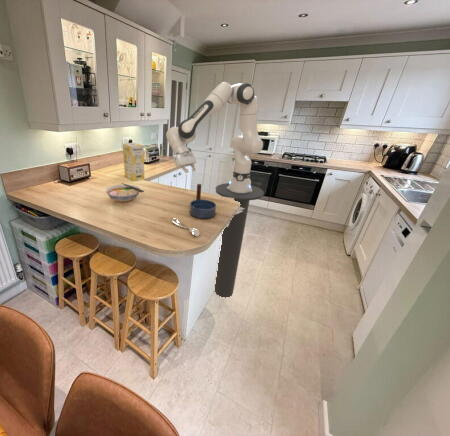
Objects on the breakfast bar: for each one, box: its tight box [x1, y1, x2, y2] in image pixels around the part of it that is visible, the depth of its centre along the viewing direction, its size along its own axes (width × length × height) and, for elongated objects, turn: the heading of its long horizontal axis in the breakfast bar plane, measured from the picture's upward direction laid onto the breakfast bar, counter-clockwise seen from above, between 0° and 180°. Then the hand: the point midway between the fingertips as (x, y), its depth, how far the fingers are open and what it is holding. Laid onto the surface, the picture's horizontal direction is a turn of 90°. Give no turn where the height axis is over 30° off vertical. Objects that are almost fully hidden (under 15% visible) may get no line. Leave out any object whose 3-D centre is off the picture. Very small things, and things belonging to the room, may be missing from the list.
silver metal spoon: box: [171, 217, 201, 237], centre depth 121 cm, size 20×4×5 cm
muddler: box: [195, 183, 202, 200], centre depth 146 cm, size 4×4×14 cm
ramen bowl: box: [105, 182, 145, 203], centre depth 155 cm, size 25×23×8 cm
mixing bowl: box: [189, 198, 217, 219], centre depth 137 cm, size 15×15×6 cm
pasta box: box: [122, 142, 146, 182], centre depth 199 cm, size 18×10×28 cm, turn 32°
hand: (190, 171), depth 147 cm, fingers open, 8 cm apart
